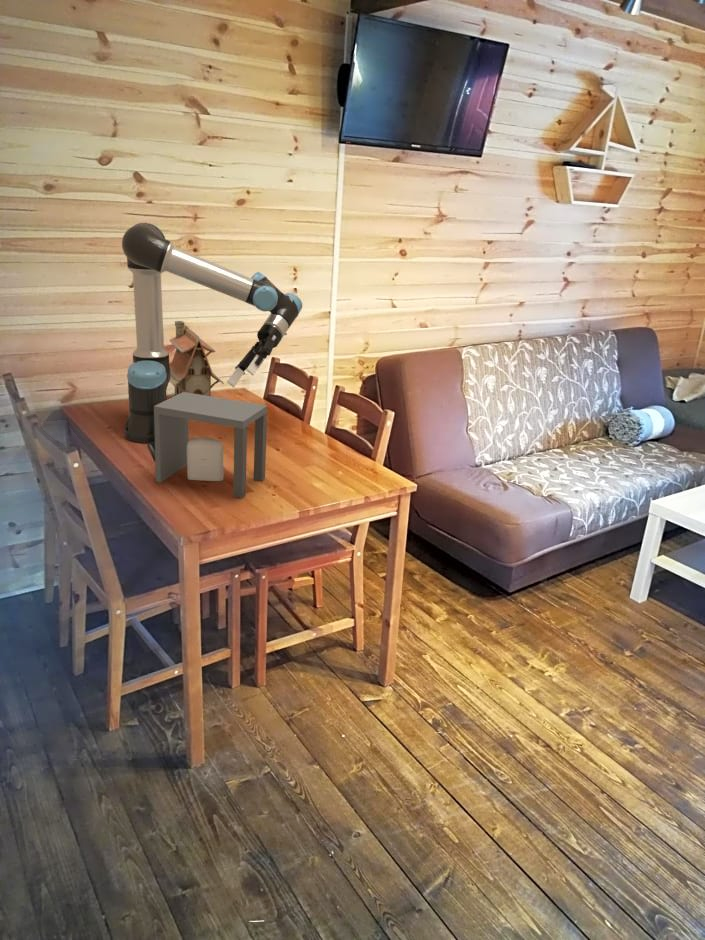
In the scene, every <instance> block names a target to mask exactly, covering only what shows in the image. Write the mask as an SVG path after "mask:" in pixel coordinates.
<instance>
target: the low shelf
mask: <svg viewBox="0 0 705 940" xmlns="http://www.w3.org/2000/svg"><path fill="white" fill-rule="evenodd" d="M190 420H191V421H196V422H203V423H209V424H214V425H219V426H225V427H231V428H234V431H233V432H234V437H233V445H234V446H233V486H232V487H233V497H232V498H235V497H238V498H237V499H240V498H242V499H244V496H245V495H247V494H246V493H247V458H248V457H247V453H248V449H247V448H248V426H250V425H251V424H252V423H254V448H253V450H254V452H253V453H254V455H253V480H254V481H258V482H263V481H264V480H265V479H266V459H267V456H266V455H267V426H268V425H267V424H268V405H266V404H261V403H260V404H259V403H254V402H246V401H242V400H235V399H230V398H229V399H228V398H222V397H217V396H212V395H211V396H205V395H199V394H193V393H187V392H182V393H180V394H178V395H176V396H174V397H173V396H172V397H170V398H168V399H166V401H164V402H162V403H160V404H157V405H155V406H154V429H155V461H154V463H155V483H159V484H160V483H163V482H164V481H166V480H168V479H169V478H171V476H173V475H174V474H176V473H177V472H179V471H181V470H182V469H184V468H185V467H187V444H188V441H189V440H190V439H189V438H190V437H189V421H190ZM245 497H246V496H245Z"/></svg>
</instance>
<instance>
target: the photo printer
mask: <svg viewBox="0 0 705 940" xmlns="http://www.w3.org/2000/svg"><path fill="white" fill-rule="evenodd" d="M186 473H187V475H186V476H187V477H186V478H187V480H189V481H204V482H205V481H206V482H222V481H223V480H224V446H223V442H222V440H219V439H217V438H212V437H207V436H206V437H201V436H200V437H193V438H190V439H189V441H188V444H187V465H186Z"/></svg>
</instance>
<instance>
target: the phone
mask: <svg viewBox="0 0 705 940" xmlns="http://www.w3.org/2000/svg"><path fill="white" fill-rule="evenodd" d="M147 447H148V450H149V451H150V454H151V456H152V459H153V460H154V462H155V442H154V443H147Z"/></svg>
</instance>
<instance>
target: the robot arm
mask: <svg viewBox="0 0 705 940" xmlns="http://www.w3.org/2000/svg"><path fill="white" fill-rule="evenodd" d="M121 248H122V252H123V254H124V255H125V257H126V262H127V263H126V264H127V269H128V270H129V271H130V272H131V273H132V282H133V295H134V296H133V299H134V300H133V301H134V316H135V333H136V336H135V337H136V348H135V350H134V351H133V352H132V363H131V364H130V365H129V366H128V368H127V374H126V377H127V387H128V389H127V390H128V393H127V394H128V416H127V419H126V422H125V426H124V429H123V432H124V437H125V439H127V440H128V441H131V442H134V443H140V444H148V443H154V442H155V429H154V406H155V405H157V404H160V403H162V402H164V401H166V400H167V389H168V386H169V383H170V378H171V368H170V365H169V364H170V353H169V351H167V349H166V348H165V340H164V319H163V316H164V315H163V294H162V273H164V272H168V273H170V274H173V275H175V276H178V277H181V278H183V279H186V280H188V281H191V282H192V283H193V282H194V283H196V284H198V285H201V286H203V287H205V288H208V289H211V290H214V291H217V292H218V293H221V294H223V295H227V296H229V297H231V298H233V299H236V300H239V301H242V302H244V303H247V304H248V305H251V306H253V307H255V308H257V310H259V311H261V312H270V314H269V315H268V316H267V318H266V320H265V321H264V323H263V324H262V325H261V327H260V328H259V330H258V331H257V334H256V337H257V339H258V341H256V342H255V343H254V345H252V347H251V348H250V349H249V351H248V352H247V353H246V355H244V356H243V358H242V359H241V361H239V363H238V364H237V365H236V366H235V367H234V369H235V370H234V371H233V373H232V374H231V375H230V377H229V378H228V379H227V381H226V383H227V384H228V385H230V386H231V387H232V388H235V387H236V385H238V383H239V381H240V379H241V378H242V377H243V375H245V374H246V372H245V371H247V372H248V373H249V374H250V375H252V376H255V374H256V373H257V371H258V370H259V368H260V367H261V365H262V364H263V363H264V361H265V359H267V358H268V357H269V356H270V355H271V354H272V351H273V349H274V348H277V347H278V345H279V344H280V343H281V342H282V340H283V338H284V336H287V335H288V333H287V332H288V330H289V328H290V327H291V326H292V325H293V323H294V322H295V320H296V319H297V318H298V317H299V314H300V312H301V311H302V309H303V302H302V300H301V298H300V297H299V296H298V295H296V294H294V293H292V292H287V293H283V292H282V291H281V290H280V289H279V288H278V287H277V286H276V285H275V284H274V283H273V282H272V281H271V280H269V279H268V277H267V276H266V275H264V274H263V273H262V272H260V271H257V272H255V273H254V274H253V275H252V276H251V277H249V276H247V275H245V274H241V273H239V272H237V271H235V270H232V269H229V268H227V267H225V266H222V265H220V264H217V263H214V262H212V261H210V260H208V259H205V258H203V257H201V256H199V255H198V256H197V255H195V254H194V253H193V254H192V253H190V252H189V251H188V252H187V251H185V250H183V249H182V248H181V249H180V248H178V247H176V246H174V244H173V242H172V241H170V240H168V239H166V236H165V234H164V233H163V231H162V230H161V229H160V228H159V227H158V226H156V225H155V224H152V223H148V222H139V223H135V224H134V225H132V226H131V227H130V228H128V229H126V231H125V233H124V234H123V236H122V240H121Z"/></svg>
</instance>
